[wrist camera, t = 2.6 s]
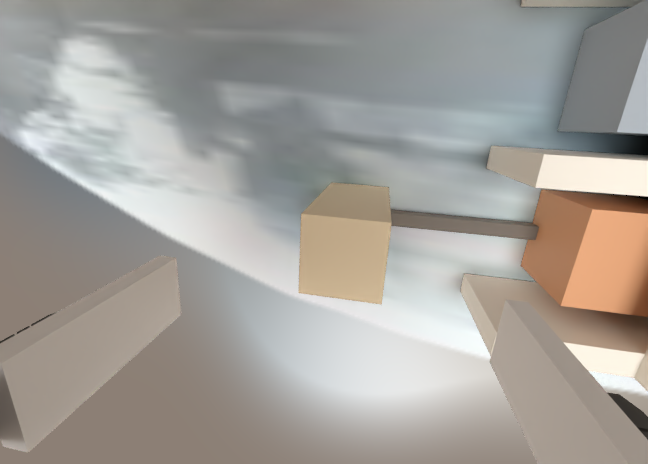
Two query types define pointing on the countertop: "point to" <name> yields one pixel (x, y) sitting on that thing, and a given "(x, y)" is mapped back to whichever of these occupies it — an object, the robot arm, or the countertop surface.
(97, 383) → the robot arm
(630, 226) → the corded block
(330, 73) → the countertop surface
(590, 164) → the shelf lanes
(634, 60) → the slate block
